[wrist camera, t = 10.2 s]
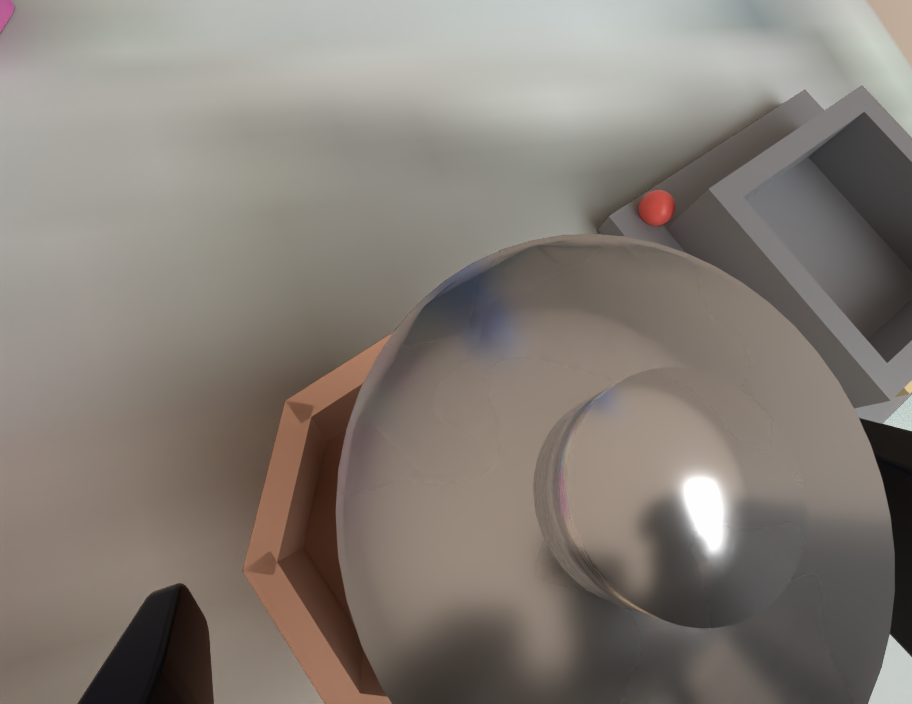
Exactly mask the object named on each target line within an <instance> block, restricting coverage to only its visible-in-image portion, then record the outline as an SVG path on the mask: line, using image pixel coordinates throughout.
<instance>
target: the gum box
mask: <svg viewBox="0 0 912 704" xmlns="http://www.w3.org/2000/svg"><path fill="white" fill-rule="evenodd" d="M14 9H15V6H14V4H13V3H12V1H11V0H0V33H1V31H2V30H3V28H4V27H5V25H6V23H7V22H8V20H9V19H10V17H11V15H12V14H13V12H14Z"/></svg>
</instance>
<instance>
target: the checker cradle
mask: <svg viewBox="0 0 912 704" xmlns="http://www.w3.org/2000/svg"><path fill="white" fill-rule="evenodd" d="M598 232H599V233H600V234H601V235H613V236H624V237H630V238H635V239H640V240H644V241H649V242H654V243H658V244H661V245H664V246H667V247H670V248H673V249H676V250H679V251H682V252H685V253H687V254H690V255H692V256H694V257H696V258H698V259H700V260H703V261H705V262H707V263H709V264H711V265H713V266H716V267H717V268H719V269H721V270H722V271H724V272H726V273H727V274H729V275H731V276H732V277H734V278H736V279H737V280H739V281H741V282H742V283H744V284H745V285H747V286H748V287H749V288H750V289H752V290H753V291H754V292H756V293H757V294H758V295H760V296H761V297H762V298H764V299H765V300H766V301H768V302H769V303H770V304H771V305H772V306H774V307H775V308H776V309H777V310H778V311H779V312H780V313H781V314H782V315H783V316H784V317H785V318H787V319H788V320H789V321H790V322H791V323H792V324H793V325H794V326H795V327H796V328H797V329H798V330H799V332H800V333H801V334H802V335H803V336H804V337H805V338H806V340H807V341H808V342H809V343H810V344H811V345H812V346H813V347H814V349H815V350H816V351H817V352H818V353H819V355H820V356H821V358H822V359H823V360H824V362H825V363H826V365H827V366H828V367H829V369H830V370H831V372H832V373H833V374H834V376H835V377H836V378H837V380H838V381H839V383H840V385H841V387H842V388H843V390H844V392H845V394H846V395H847V397H848V399H849V401H850V402H851V404H852V406H853V407H854V409H855V411H856V413H857V415H858V418H862V419H866V420H870V421H874V422H877V423H881V424H882V423H883V422H884V421H885V420H886V419H887V418H888V417H889V416H891V415H892V414H893V413H894V412H895V411H896V410H897V409H898V408H899V407H900V406H901V405H902V404H903V403H904V402H905V401H906V400H907V399H908V398H909V397H910V396H911V395H912V138H911V137H910V135H909V134H908V133H907V132H906V131H905V130H904V129H903V128H902V127H901V126H900V125H899V124H898V123H897V122H896V121H895V120H894V119H893V117H892V116H891V115H890V114H889V113H888V112H887V111H886V110H885V109H884V108H883V107H882V106H881V105H880V104H879V103H878V102H877V100H876V99H875V98H874V97H873V96H872V95H871V94H870V93H869V92H868V91H867V90H866V89H865V88H864V87H863V86H860V87H859V88H857V89H856V90H854V91H853V92H851V93H850V94H848V95H847V96H845V97H844V98H842V99H841V100H839V101H838V102H836V103H835V104H834V105H832V106H831V107H829V108H828V109H826V110H825V111H824V110H823V109H822V107H821V106H820V105H819V104H818V103H817V102H816V101H815V100H814V99H813V98H812V97H811V96H810V94H809V93H808V92H807V91H806V90H803V91H802V92H800V93H799V94H797V95H795V96H794V97H792V98H791V99H789V100H788V101H786V102H785V103H783V104H782V105H780V106H778V107H777V108H775V109H774V110H772V111H771V112H769V113H768V114H766V115H764V116H763V117H761V118H760V119H758V120H757V121H755V122H754V123H752V124H751V125H749V126H747V127H746V128H744V129H743V130H741V131H740V132H738V133H737V134H735V135H733V136H732V137H730V138H729V139H727V140H726V141H724V142H723V143H721V144H720V145H718V146H716V147H715V148H713V149H712V150H710V151H709V152H707V153H706V154H704V155H703V156H701V157H699V158H698V159H696V160H695V161H693V162H692V163H690V164H689V165H687V166H685V167H684V168H682V169H681V170H679V171H678V172H676V173H675V174H673V175H672V176H670V177H668V178H667V179H665V180H664V181H662V182H661V183H659V184H658V185H656V186H654V187H653V188H651V189H650V190H648V191H647V192H645V193H644V194H642V195H641V196H639V197H637V198H636V199H634V200H633V201H631V202H630V203H628V204H627V205H625V206H623V207H622V208H620V209H619V210H617V211H616V212H614V213H613V214H611V215H610V216H608V218H607V219H606V220H605V221H604V222H603V224H602V225H601V226H600V227H599V229H598Z"/></svg>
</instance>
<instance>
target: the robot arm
mask: <svg viewBox="0 0 912 704" xmlns="http://www.w3.org/2000/svg"><path fill="white" fill-rule="evenodd" d="M859 420H860V422H861V424H862V426H863V429H864V431H865V433H866V435H867V437H868V440H869V442H870V444H871V447H872V450H873V453H874V456H875V459H876V462H877V465H878V468H879V471H880V474H881V477H882V480H883V485H884V489H885V494H886V498H887V503H888V507H889V512H890V517H891V526H892V534H893V543H894V552H895V594H894V603H893V611H892V620H891V629H890V635H891V636H892V637H893V638H894V639H895V640H896V641H897V642H898V643H899V644H900V645H901V646H902V647H903V648H904V649H905V650H906V651H907V653H908V654H909V655H910V656H911V657H912V431H908V430H904V429H900V428H896V427H893V426H889V425H885V424H881V423H877V422H874V421H870V420H866V419H862V418H859ZM78 704H214V700H213V685H212V670H211V655H210V640H209V630H208V625H207V621H206V619H205V616H204V615H203V613H202V611H201V610H200V608H199V606H198V604H197V603H196V601H195V599H194V598H193V596H192V594H191V593H190V591H189V589H188V588H187V587H186V586H185V585H184V584H182V583H177V584H174V585H172V586H169V587H166V588H163V589H160V590H157V591H154V592H153V593H151V594H150V595H149V596H148V597H147V598H146V600H145V601H144V603H143V604H142V606H141V607H140V609H139V610H138V612H137V613H136V615H135V617H134V618H133V620H132V621H131V623H130V624H129V626H128V627H127V629H126V630H125V632H124V633H123V635H122V636H121V638H120V639H119V641H118V642H117V644H116V646H115V647H114V649H113V650H112V652H111V653H110V655H109V656H108V658H107V659H106V661H105V662H104V664H103V665H102V667H101V668H100V670H99V671H98V673H97V675H96V676H95V678H94V679H93V681H92V682H91V684H90V685H89V687H88V688H87V690H86V691H85V693H84V694H83V696H82V697H81V699H80V700H79V702H78Z"/></svg>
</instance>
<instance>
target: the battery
mask: <svg viewBox="0 0 912 704" xmlns="http://www.w3.org/2000/svg"><path fill="white" fill-rule="evenodd" d="M336 528H337V544H338V558H339V563H340V568H341V573H342V579H343V584H344V589H345V594H346V599H347V603H348V606H349V609H350V612H351V615H352V618H353V621H354V624H355V628H356V631H357V634H358V637H359V640H360V643H361V646H362V648H363V650H364V652H365V654H366V656H367V658H368V660H369V662H370V664H371V666H372V669H373V671H374V673H375V675H376V677H377V679H378V681H379V683H380V685H381V687H382V689H383V691H384V692H385V694H386V695H387V697H388V698H389V700H390V701H391V703H392V704H868V702H869V699H870V696H871V694H872V691H873V688H874V686H875V683H876V681H877V678H878V675H879V673H880V670H881V667H882V663H883V659H884V655H885V650H886V646H887V642H888V638H889V634H890V629H891V620H892V611H893V603H894V594H895V552H894V543H893V534H892V526H891V517H890V512H889V507H888V503H887V498H886V494H885V489H884V485H883V480H882V477H881V474H880V471H879V468H878V465H877V462H876V459H875V456H874V453H873V450H872V447H871V444H870V442H869V440H868V437H867V435H866V433H865V431H864V429H863V426H862V424H861V422H860V420H859V418H858V415H857V413H856V411H855V409H854V407H853V406H852V404H851V402H850V401H849V399H848V397H847V395H846V394H845V392H844V390H843V388H842V387H841V385H840V383H839V381H838V380H837V378H836V377H835V376H834V374H833V373H832V372H831V370H830V369H829V367H828V366H827V365H826V363H825V362H824V360H823V359H822V358H821V356H820V355H819V353H818V352H817V351H816V350H815V349H814V347H813V346H812V345H811V344H810V343H809V342H808V341H807V340H806V338H805V337H804V336H803V335H802V334H801V333H800V332H799V330H798V329H797V328H796V327H795V326H794V325H793V324H792V323H791V322H790V321H789V320H788V319H787V318H785V317H784V316H783V315H782V314H781V313H780V312H779V311H778V310H777V309H776V308H775V307H774V306H772V305H771V304H770V303H769V302H768V301H766V300H765V299H764V298H762V297H761V296H760V295H758V294H757V293H756V292H754V291H753V290H752V289H750V288H749V287H748V286H747V285H745V284H744V283H742V282H741V281H739V280H737V279H736V278H734V277H732V276H731V275H729V274H727V273H726V272H724V271H722V270H721V269H719V268H717V267H716V266H713V265H711V264H709V263H707V262H705V261H703V260H700V259H698V258H696V257H694V256H692V255H690V254H687V253H685V252H682V251H679V250H676V249H673V248H670V247H667V246H664V245H661V244H658V243H654V242H649V241H644V240H640V239H635V238H630V237H624V236H613V235H601V234H579V235H561V236H555V237H549V238H543V239H537V240H532V241H528V242H525V243H522V244H518V245H515V246H512V247H509V248H505V249H502V250H500V251H498V252H496V253H493V254H491V255H489V256H487V257H485V258H482V259H480V260H478V261H476V262H474V263H472V264H470V265H469V266H467V267H466V268H464V269H463V270H461V271H459V272H458V273H456V274H455V275H453V276H452V277H450V278H448V279H447V280H445V281H444V282H443V283H442V284H441V285H439V286H438V287H437V288H436V289H435V290H433V291H432V292H431V293H430V294H429V295H428V296H426V297H425V298H424V299H423V300H422V301H420V302H419V303H418V305H417V306H416V307H415V308H414V309H413V310H412V311H411V312H410V313H409V315H408V316H407V317H406V318H405V319H404V320H403V321H402V322H401V323H400V325H399V326H398V327H397V328H396V329H395V331H394V332H393V334H392V335H391V337H390V338H389V340H388V341H387V343H386V344H385V346H384V347H383V348H382V350H381V351H380V353H379V354H378V356H377V357H376V359H375V361H374V363H373V365H372V367H371V369H370V371H369V373H368V375H367V377H366V379H365V381H364V383H363V385H362V387H361V389H360V391H359V394H358V397H357V400H356V403H355V406H354V409H353V411H352V414H351V417H350V420H349V423H348V426H347V429H346V434H345V439H344V444H343V449H342V454H341V459H340V464H339V469H338V483H337V498H336Z"/></svg>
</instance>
